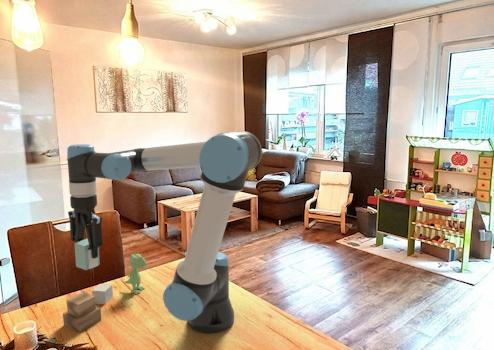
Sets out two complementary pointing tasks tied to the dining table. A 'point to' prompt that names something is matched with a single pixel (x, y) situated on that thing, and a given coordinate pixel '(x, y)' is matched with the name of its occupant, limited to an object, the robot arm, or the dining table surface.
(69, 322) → the base block
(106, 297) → the block
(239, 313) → the dining table surface
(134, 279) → the toy
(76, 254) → the teal block
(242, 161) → the robot arm
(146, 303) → the dining table surface
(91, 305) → the top block
